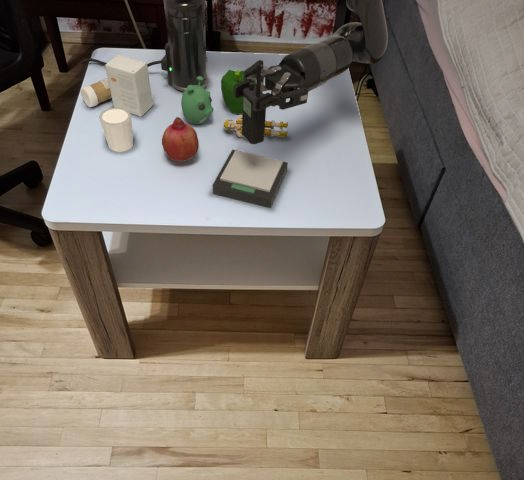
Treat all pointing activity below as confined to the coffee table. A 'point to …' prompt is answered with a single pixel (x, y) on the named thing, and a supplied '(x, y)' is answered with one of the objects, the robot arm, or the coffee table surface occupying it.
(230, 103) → the bell pepper
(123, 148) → the white candle
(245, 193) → the scale
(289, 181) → the coffee table surface
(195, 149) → the fruit
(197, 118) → the alien toy
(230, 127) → the toy
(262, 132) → the walkie-talkie
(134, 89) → the small box
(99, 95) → the sprinkles bottle
